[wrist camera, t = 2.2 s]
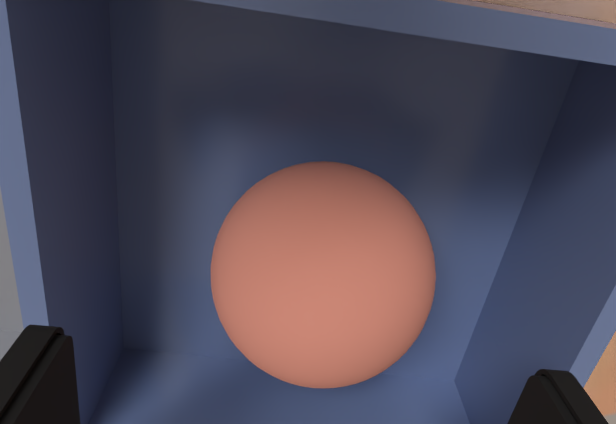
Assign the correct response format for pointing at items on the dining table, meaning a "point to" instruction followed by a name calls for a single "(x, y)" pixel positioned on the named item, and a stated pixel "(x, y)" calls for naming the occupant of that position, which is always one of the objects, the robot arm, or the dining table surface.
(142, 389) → the blue storage bin
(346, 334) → the ball
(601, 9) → the dining table surface
